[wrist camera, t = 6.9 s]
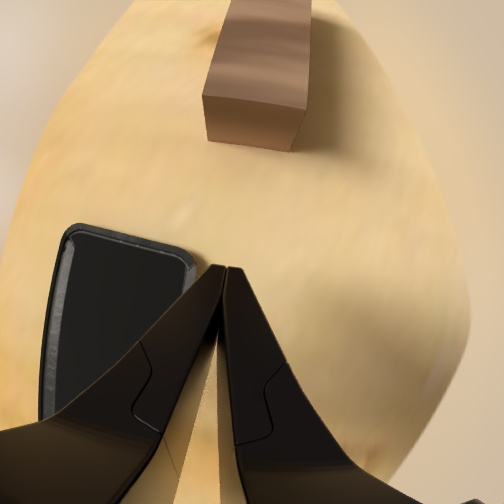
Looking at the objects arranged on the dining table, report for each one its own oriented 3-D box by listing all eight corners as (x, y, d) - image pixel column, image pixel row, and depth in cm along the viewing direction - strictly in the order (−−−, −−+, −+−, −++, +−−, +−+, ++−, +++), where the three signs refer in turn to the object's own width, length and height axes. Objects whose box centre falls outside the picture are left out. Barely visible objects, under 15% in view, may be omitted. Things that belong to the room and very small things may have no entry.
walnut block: (306, 109, 12) (311, -28, 14) (202, 94, 12) (245, -38, 13) (288, 152, 16) (300, 14, 18) (208, 141, 16) (242, 5, 18)
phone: (39, 453, 12) (66, 218, 14) (47, 446, 14) (75, 223, 15) (154, 500, 13) (203, 253, 15) (157, 490, 14) (204, 255, 16)
